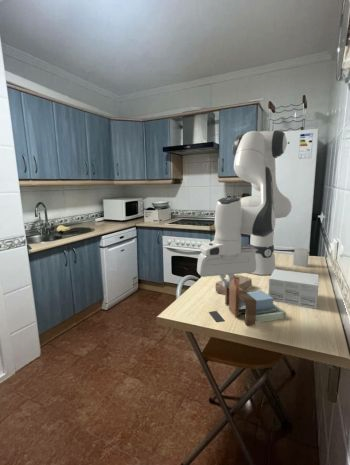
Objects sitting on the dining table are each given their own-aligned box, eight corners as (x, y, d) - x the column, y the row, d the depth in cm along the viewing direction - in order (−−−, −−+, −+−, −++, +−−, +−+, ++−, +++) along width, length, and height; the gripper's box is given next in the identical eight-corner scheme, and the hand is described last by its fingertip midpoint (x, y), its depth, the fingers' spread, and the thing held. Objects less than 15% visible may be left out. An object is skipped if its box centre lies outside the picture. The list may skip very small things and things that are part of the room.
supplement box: (317, 296, 104) (319, 274, 102) (316, 310, 92) (318, 285, 91) (273, 288, 112) (274, 268, 110) (267, 300, 101) (268, 277, 99)
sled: (225, 305, 95) (226, 271, 93) (258, 301, 98) (259, 267, 96) (239, 320, 84) (240, 281, 82) (275, 315, 87) (278, 277, 85)
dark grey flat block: (208, 312, 91) (208, 311, 91) (216, 311, 92) (216, 310, 92) (216, 322, 85) (216, 321, 85) (224, 321, 85) (224, 320, 85)
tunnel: (225, 303, 98) (225, 282, 96) (232, 302, 99) (233, 282, 97) (246, 326, 82) (247, 301, 81) (255, 324, 83) (256, 300, 81)
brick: (236, 282, 120) (236, 272, 119) (252, 287, 114) (253, 277, 113) (214, 292, 109) (214, 282, 108) (231, 298, 103) (231, 287, 102)
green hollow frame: (236, 303, 98) (236, 299, 97) (262, 300, 100) (262, 295, 100) (256, 322, 84) (256, 316, 84) (285, 318, 87) (285, 312, 86)
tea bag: (306, 267, 140) (307, 249, 138) (293, 265, 144) (294, 248, 142) (307, 265, 142) (309, 248, 141) (294, 263, 146) (295, 246, 145)
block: (241, 308, 94) (242, 293, 93) (261, 305, 96) (261, 290, 95) (251, 317, 88) (252, 301, 87) (272, 314, 90) (273, 298, 89)
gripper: (251, 243, 91) (249, 280, 93) (195, 246, 86) (195, 285, 88) (260, 246, 85) (258, 286, 87) (201, 250, 80) (201, 292, 82)
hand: (226, 286), depth 88 cm, fingers closed
